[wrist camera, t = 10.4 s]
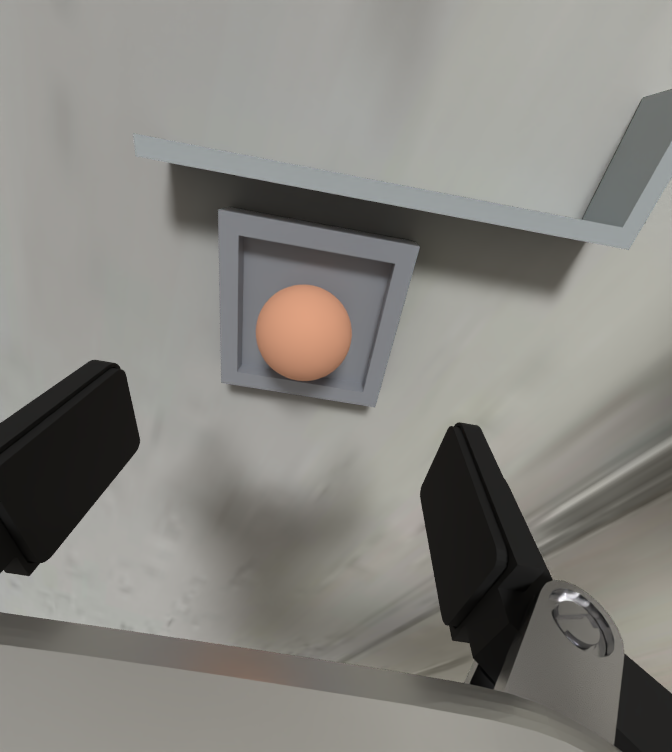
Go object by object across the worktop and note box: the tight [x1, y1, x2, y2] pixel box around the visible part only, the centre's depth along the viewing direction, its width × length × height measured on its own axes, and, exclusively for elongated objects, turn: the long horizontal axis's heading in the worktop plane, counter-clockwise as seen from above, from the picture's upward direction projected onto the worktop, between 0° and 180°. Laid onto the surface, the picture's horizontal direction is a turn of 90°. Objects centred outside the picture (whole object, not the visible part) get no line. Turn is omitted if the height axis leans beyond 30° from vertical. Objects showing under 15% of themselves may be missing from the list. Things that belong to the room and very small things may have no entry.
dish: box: [218, 207, 420, 407], centre depth 19 cm, size 10×10×2 cm
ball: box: [256, 284, 352, 381], centre depth 17 cm, size 5×5×5 cm
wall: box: [133, 89, 672, 250], centre depth 14 cm, size 22×6×3 cm, turn 81°
